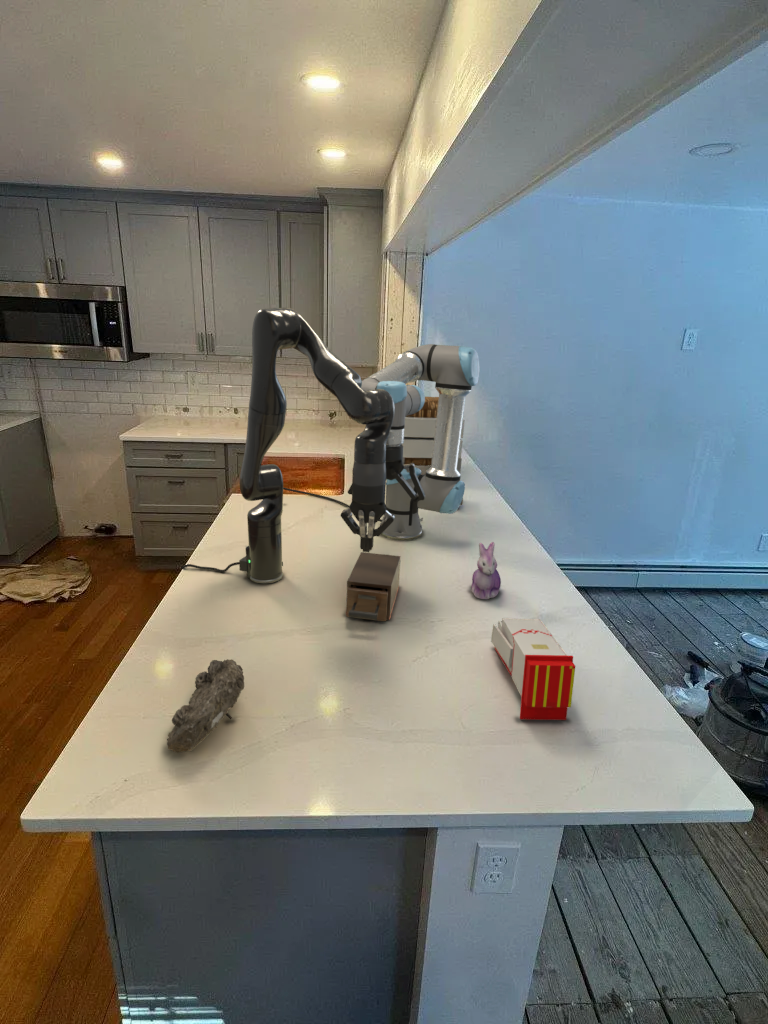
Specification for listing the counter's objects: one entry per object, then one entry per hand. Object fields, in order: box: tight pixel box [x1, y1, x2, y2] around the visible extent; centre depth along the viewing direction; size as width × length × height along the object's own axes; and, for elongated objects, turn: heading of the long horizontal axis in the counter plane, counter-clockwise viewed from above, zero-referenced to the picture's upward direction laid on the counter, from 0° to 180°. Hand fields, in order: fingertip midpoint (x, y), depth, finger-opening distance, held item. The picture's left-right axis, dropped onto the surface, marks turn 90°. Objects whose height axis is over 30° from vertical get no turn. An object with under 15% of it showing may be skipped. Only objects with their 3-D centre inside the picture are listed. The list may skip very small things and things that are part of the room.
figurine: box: [470, 541, 502, 600], centre depth 158 cm, size 9×10×15 cm
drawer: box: [346, 585, 388, 622], centre depth 147 cm, size 23×10×8 cm, turn 171°
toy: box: [490, 617, 576, 721], centre depth 122 cm, size 12×13×30 cm
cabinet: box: [345, 551, 401, 621], centre depth 152 cm, size 18×11×10 cm, turn 171°
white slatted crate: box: [402, 396, 465, 475], centre depth 268 cm, size 34×33×41 cm
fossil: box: [166, 658, 245, 754], centre depth 106 cm, size 22×10×15 cm
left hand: (366, 550), depth 133 cm, fingers closed
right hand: (385, 521), depth 151 cm, fingers open, 13 cm apart
